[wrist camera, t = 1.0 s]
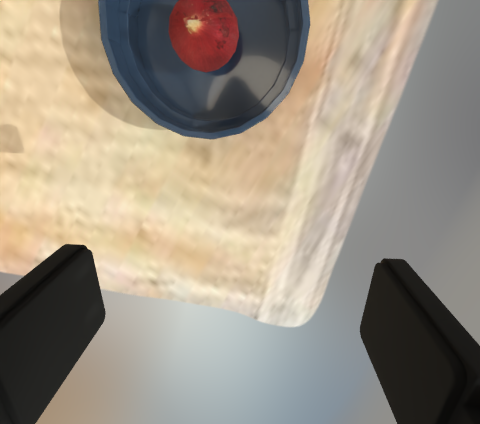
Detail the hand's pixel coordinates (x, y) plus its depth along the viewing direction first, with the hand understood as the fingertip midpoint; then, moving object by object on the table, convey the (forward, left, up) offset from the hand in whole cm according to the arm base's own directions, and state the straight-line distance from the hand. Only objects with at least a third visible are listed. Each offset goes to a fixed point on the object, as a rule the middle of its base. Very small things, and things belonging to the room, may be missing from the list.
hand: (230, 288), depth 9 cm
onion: (-10, +5, -24) cm, 26 cm away
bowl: (-10, +5, -24) cm, 27 cm away
